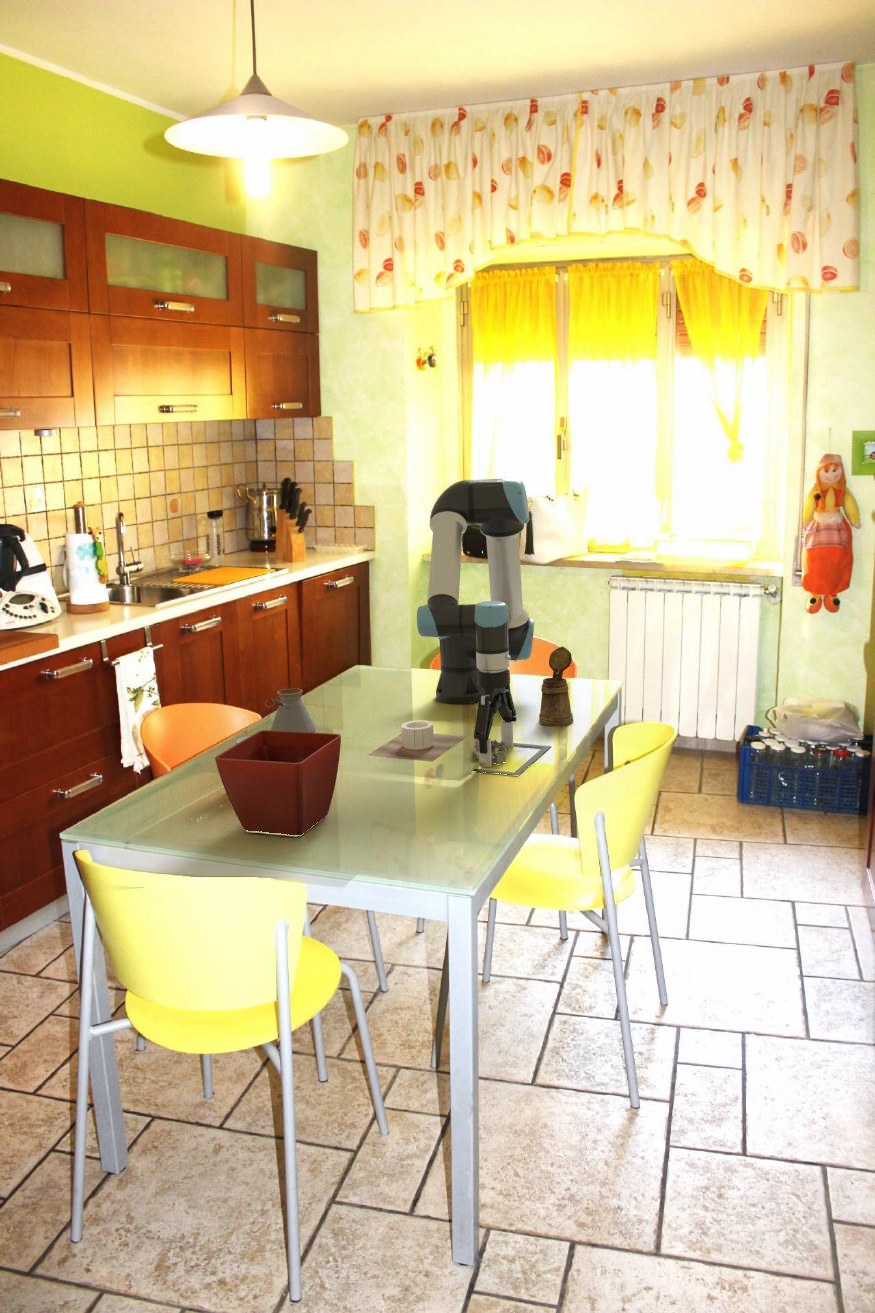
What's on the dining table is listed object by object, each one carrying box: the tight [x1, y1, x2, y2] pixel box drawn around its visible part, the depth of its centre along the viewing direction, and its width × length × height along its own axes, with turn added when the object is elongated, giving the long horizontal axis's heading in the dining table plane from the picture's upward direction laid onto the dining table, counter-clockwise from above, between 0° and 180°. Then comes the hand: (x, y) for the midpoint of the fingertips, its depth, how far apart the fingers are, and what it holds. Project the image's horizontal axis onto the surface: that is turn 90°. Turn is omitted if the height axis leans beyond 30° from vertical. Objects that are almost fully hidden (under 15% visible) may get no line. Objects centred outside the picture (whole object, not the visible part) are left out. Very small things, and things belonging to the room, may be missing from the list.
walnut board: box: [367, 733, 467, 762], centre depth 268 cm, size 20×17×1 cm
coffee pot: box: [264, 687, 317, 733], centre depth 275 cm, size 21×12×15 cm, turn 169°
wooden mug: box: [538, 646, 574, 727], centre depth 286 cm, size 9×14×18 cm, turn 160°
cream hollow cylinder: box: [401, 720, 434, 750], centre depth 267 cm, size 8×8×5 cm
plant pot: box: [214, 729, 342, 835], centre depth 222 cm, size 19×19×17 cm
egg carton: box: [473, 739, 507, 765], centre depth 259 cm, size 11×8×4 cm
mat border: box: [472, 742, 552, 776], centre depth 259 cm, size 22×19×1 cm
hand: (496, 757), depth 259 cm, fingers open, 13 cm apart
